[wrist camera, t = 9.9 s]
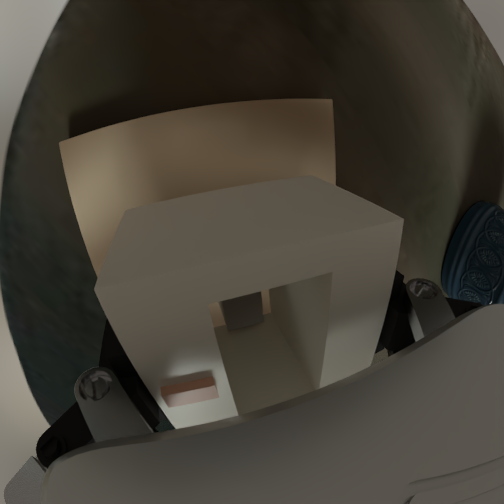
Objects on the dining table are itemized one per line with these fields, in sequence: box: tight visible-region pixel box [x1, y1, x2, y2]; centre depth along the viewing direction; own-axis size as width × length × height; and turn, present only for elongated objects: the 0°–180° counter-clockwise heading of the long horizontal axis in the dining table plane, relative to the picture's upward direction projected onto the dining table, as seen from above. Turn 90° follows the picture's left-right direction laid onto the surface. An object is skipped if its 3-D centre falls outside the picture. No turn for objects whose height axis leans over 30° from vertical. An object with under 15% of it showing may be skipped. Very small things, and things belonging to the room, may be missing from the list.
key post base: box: [59, 99, 336, 331], centre depth 13 cm, size 14×14×6 cm
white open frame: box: [94, 175, 404, 429], centre depth 9 cm, size 7×7×5 cm
